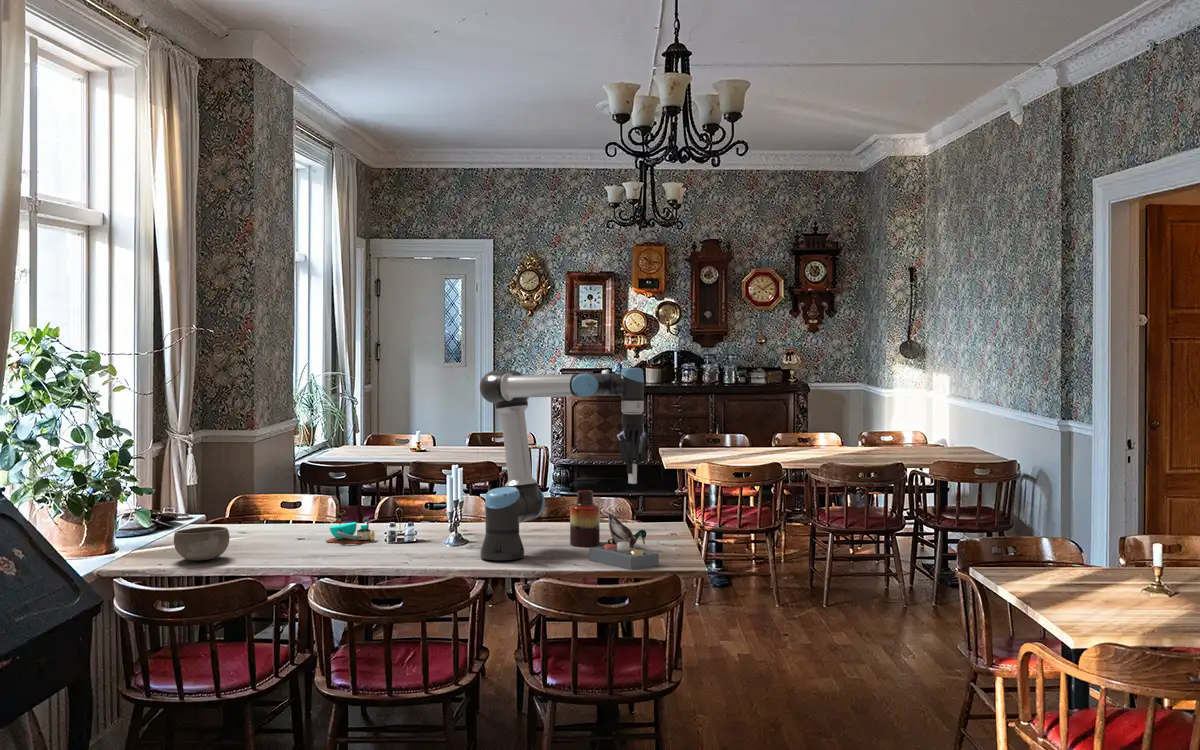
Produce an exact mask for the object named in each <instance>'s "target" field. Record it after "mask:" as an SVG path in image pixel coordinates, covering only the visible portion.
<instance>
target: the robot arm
mask: <svg viewBox="0 0 1200 750" xmlns="http://www.w3.org/2000/svg"><path fill="white" fill-rule="evenodd" d="M479 383H480V384H479V392H480V395H481V396H482V398H483V399H484V400H485V401H487V402H489V403H491V404H495V411H496V412H498V413H499V414H500V419H501V427H502V428H501V429H502V437H503V444H504V453H505V462H506V471H507V482H506V483H505V484H504V486H501V487H496V488H492V489H490V490H488V491H487V492H486V494H485V502H484V505H485V507H484V508H485V536H484V539H483V542H482V545H481V548H480V558H481V559H483V560H487V561H489V560H490V561H511V560H512V561H513V560H519V559H522V558H524V557H525V548H524V544H523V542H522V539H521V535H520V523H525V522H530V521H532V520H534V519H536V518H538V517H540V516H541V514H542V513H543V511H544V509H545V505H546V499H545V496H544V493H543V492H542V491H541V489H540V488H538V487H539V485H538V481H537V480H536V479H535V478H533V474H532V473H533V472H532V464H531V456H530V447H529V446H530V445H529V439H528V438H529V437H528V430H527V422H526V414H525V411H526V409H527V408H528V407H529V404H528V403H529V402H528V400H529V398H554V397H556V398H559V397H562V398H563V397H566V398H567V397H582V398H583V397H584V398H585V397H586V398H587V397H604V396H605V397H607V396H611V397H613V396H614V397H615V396H617V397H619V396H620V398H621V405H620V406H621V407H620V408H621V410H620V411H621V413H622V414H621V425H622V427H621V431H620V433H618V434H616V435H615V438H616V440H617V442H618V446H619V452H620V456H621V457H620V458H621V462H622V463H624V464H626V473H627V477H628V478H627V479H628V481H627V484H630V485H631V484H632V485H636V484H637V483H638V480H637V479H638V473H639V465H640V464H641V462H643V461H644V456H645V450H646V447H647V442H648V441H647V440H648V438H649V437H650V435H649V433H646V432H645V431H644V428H643V425H644V424H645V423H644V422H645V417H644V414H643V413H644V410H645V409H644V408H645V407H644V404H645V403H644V401H645V398H644V392H645V391H644V390H645V388H644V387H645V386H644V384H645V378H644V370H643V368H640V367H623V368H621V370H620V373H599V372H598V373H588V372H584V373H583V372H582V373H565V374H564V373H562V374H561V373H559V374H533V375H531V374H530V375H529V374H526V375H525V374H524V373H523V372H521V371H516V370H492V371H489V372H487V373H486V374H484V376H483V377H482V378H481V379H480V382H479ZM637 485H638V484H637Z"/></svg>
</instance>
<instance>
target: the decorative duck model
mask: <svg viewBox="0 0 1200 750" xmlns="http://www.w3.org/2000/svg"><path fill="white" fill-rule="evenodd" d="M607 519H608V526H609V533H610V535H611V537H612V538H610V539H608V540H607V544H615V545H617V542H629V543H630V548H634V546H635V544H636V543H637V541H638V539H639V538H641V539H642V544H643V545H646V537H647V530H645V529H639V530H638V531H637V532H636V533H635V534H634V533H633V532H632V530H631V529H630V528H629V527H627V526H626V525H624V524H623V523H622V522H621V521H620V520H619V519H618V518H617V517H616V516H615V515H614V514H610V513H609V514H608V518H607Z"/></svg>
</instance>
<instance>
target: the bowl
mask: <svg viewBox="0 0 1200 750" xmlns="http://www.w3.org/2000/svg"><path fill="white" fill-rule="evenodd" d="M230 538H231V537H230V532H229V529H228V527H226V526H199V527H192V528H190V527H189V528H185V529H180V530H177V531H175V532H174V535H173V545H174V548H175V551H176V552H177V553H178V555H179V556H180V557H182V558H183V559H185V560H189V561H205V560H206V561H207V560H213V559H217V558H218V557H220V556H222V555H223V554H224V553H225V552H226V550H227V548H228V546H229V544H230Z"/></svg>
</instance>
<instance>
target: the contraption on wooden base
mask: <svg viewBox="0 0 1200 750" xmlns="http://www.w3.org/2000/svg"><path fill="white" fill-rule="evenodd" d="M346 514H347V512H346V510H337V511H336V516H335V519H334V522H335V521H337V518H338V516H340V519H339V521H337V522H338V524H337V525H332V526H330V527H329V530H330V532H331V535H332V536H333V537H332V538H330V539H326V540H325V543H327V544H341V545H342V544H343V545H345V544H346V545H364V544H369V543H371V542H373V541H375V534H376V533H375V531H374V530H371V529H369V527H370V526H369V524H370V523H369V520H370V518H369V517H368V516H367V517H364V518H363V519H362V521H363V523H365V522H366V524H360V529H358V530H357V528H358V527H357V525H358V523H357V522H355V521H353V522H348V523H343V524H342V521H341V520H342V517H343V516H344V515H346ZM356 532H357V535H355V533H356Z"/></svg>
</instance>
